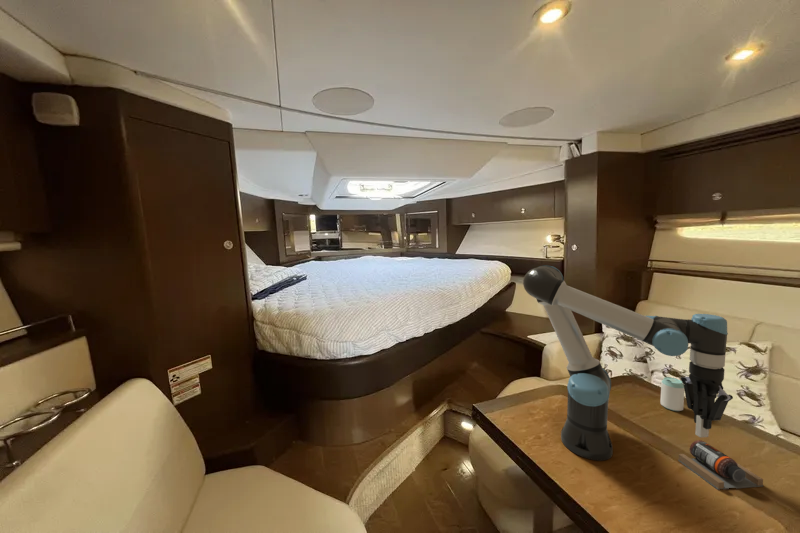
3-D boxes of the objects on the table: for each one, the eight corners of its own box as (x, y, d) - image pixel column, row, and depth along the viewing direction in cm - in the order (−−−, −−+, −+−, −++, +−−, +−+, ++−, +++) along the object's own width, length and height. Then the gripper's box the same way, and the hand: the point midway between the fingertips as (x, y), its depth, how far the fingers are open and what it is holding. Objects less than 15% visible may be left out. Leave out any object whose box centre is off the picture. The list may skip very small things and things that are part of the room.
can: (680, 414, 116) (682, 385, 115) (657, 406, 122) (659, 379, 121) (685, 408, 120) (687, 380, 119) (663, 400, 126) (664, 374, 125)
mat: (717, 489, 81) (718, 482, 81) (678, 460, 92) (678, 454, 92) (763, 486, 82) (763, 479, 82) (718, 457, 93) (719, 451, 93)
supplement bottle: (708, 442, 93) (753, 470, 82) (699, 458, 94) (743, 488, 82) (693, 436, 93) (736, 463, 82) (685, 452, 93) (726, 481, 82)
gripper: (743, 373, 83) (737, 449, 85) (695, 355, 96) (690, 422, 98) (719, 374, 83) (714, 451, 85) (674, 356, 96) (670, 423, 98)
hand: (701, 435), depth 92 cm, fingers closed
